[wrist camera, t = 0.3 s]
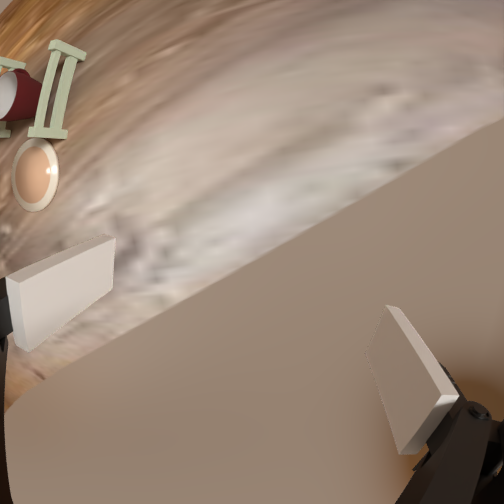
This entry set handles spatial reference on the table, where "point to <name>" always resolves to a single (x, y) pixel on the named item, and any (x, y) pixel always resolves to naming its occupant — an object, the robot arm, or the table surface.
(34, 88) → the mug
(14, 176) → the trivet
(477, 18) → the table surface
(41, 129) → the cradle
